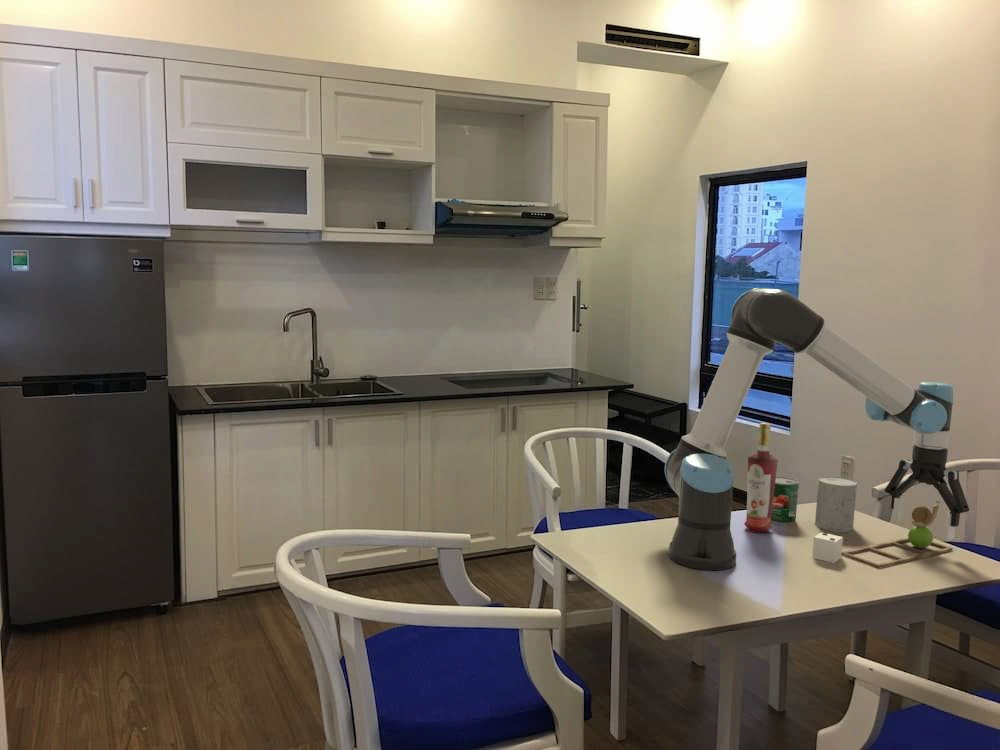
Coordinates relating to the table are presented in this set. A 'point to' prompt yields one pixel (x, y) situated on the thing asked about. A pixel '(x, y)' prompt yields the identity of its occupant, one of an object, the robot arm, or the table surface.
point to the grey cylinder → (835, 504)
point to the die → (827, 547)
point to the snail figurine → (922, 526)
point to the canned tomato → (784, 501)
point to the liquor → (761, 484)
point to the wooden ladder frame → (898, 559)
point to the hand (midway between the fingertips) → (922, 530)
